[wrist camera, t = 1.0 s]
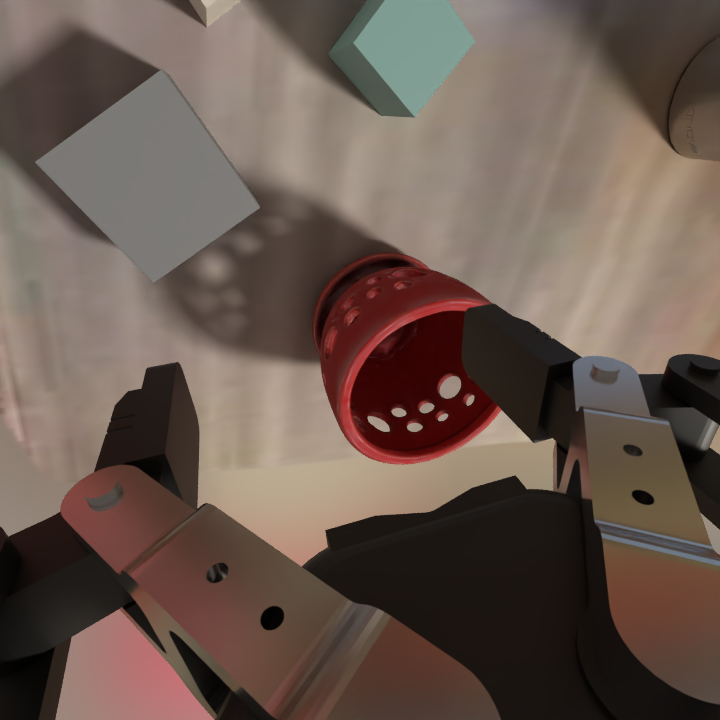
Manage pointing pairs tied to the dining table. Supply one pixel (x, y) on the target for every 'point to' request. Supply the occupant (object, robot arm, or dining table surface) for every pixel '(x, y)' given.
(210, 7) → the cream block
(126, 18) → the dining table surface
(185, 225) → the slate base block
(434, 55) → the teal block
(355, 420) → the plant pot
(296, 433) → the dining table surface
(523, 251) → the dining table surface
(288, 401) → the dining table surface
